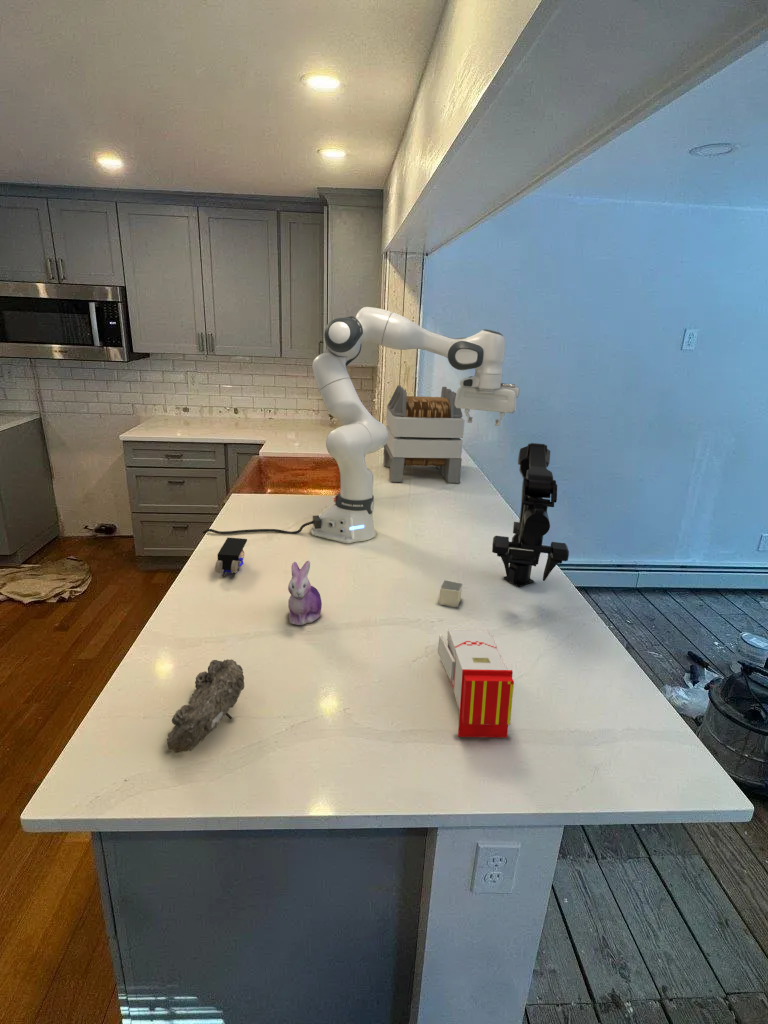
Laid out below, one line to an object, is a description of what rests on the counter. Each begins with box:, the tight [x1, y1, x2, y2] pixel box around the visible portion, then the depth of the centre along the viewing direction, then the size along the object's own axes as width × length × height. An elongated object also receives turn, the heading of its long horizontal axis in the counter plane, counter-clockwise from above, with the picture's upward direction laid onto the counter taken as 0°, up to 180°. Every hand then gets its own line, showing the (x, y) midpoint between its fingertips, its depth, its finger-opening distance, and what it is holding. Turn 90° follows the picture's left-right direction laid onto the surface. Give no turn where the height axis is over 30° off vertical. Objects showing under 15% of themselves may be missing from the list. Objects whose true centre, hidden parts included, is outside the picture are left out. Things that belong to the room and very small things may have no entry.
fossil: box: [166, 658, 245, 754], centre depth 106 cm, size 22×10×15 cm
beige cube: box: [438, 580, 463, 609], centre depth 154 cm, size 5×5×5 cm
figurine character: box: [214, 537, 248, 578], centre depth 166 cm, size 7×8×15 cm
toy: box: [437, 628, 515, 738], centre depth 117 cm, size 12×13×30 cm
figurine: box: [287, 560, 323, 626], centre depth 141 cm, size 9×10×15 cm
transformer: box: [383, 384, 465, 484], centre depth 268 cm, size 34×33×41 cm
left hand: (483, 423), depth 190 cm, fingers open, 8 cm apart
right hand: (525, 578), depth 148 cm, fingers open, 9 cm apart
